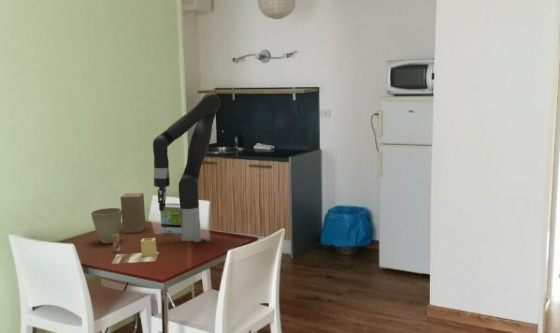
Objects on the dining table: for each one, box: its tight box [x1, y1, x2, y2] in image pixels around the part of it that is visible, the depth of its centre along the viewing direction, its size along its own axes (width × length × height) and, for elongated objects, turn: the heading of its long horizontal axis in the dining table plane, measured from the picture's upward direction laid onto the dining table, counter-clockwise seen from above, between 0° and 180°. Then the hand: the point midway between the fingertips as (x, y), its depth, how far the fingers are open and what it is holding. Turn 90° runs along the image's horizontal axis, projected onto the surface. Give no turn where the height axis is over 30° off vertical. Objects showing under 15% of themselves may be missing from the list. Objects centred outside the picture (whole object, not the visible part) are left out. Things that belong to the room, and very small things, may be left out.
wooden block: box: [120, 192, 147, 234], centre depth 302 cm, size 10×10×20 cm
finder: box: [140, 237, 157, 256], centre depth 254 cm, size 6×5×7 cm
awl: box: [112, 234, 121, 253], centre depth 262 cm, size 3×3×9 cm
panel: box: [111, 251, 160, 265], centre depth 251 cm, size 19×14×1 cm
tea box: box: [160, 202, 182, 235], centre depth 298 cm, size 15×10×15 cm, turn 77°
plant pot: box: [90, 207, 122, 244], centre depth 282 cm, size 15×15×16 cm
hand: (162, 208), depth 276 cm, fingers open, 8 cm apart
